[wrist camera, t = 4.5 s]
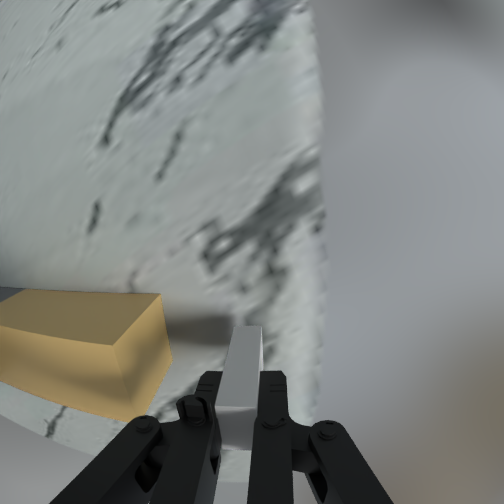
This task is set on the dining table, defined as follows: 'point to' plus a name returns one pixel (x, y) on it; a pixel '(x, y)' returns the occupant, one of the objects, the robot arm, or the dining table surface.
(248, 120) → the dining table surface
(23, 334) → the plug
